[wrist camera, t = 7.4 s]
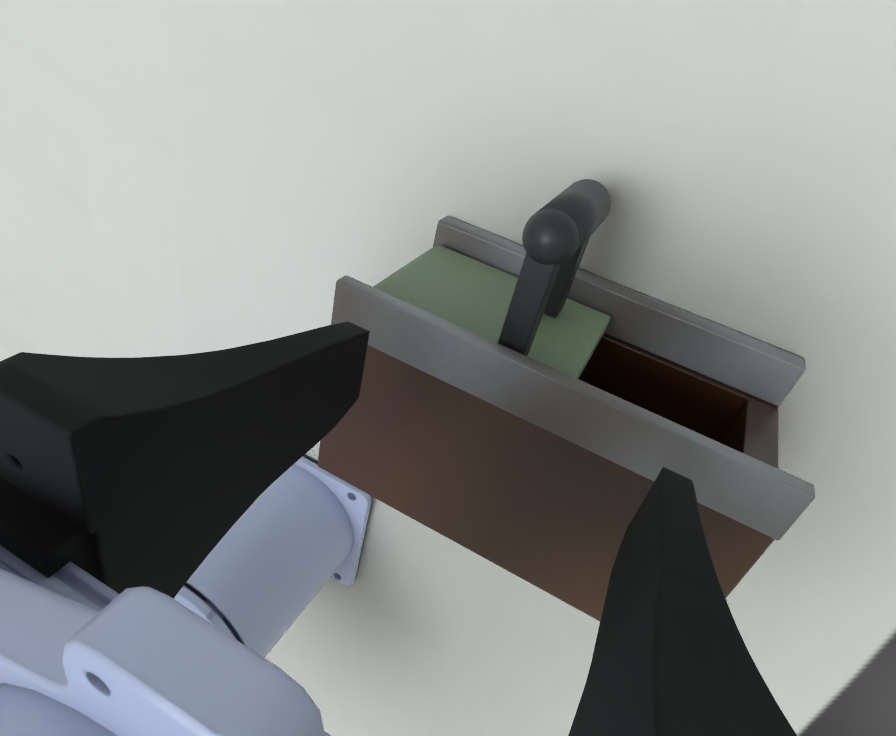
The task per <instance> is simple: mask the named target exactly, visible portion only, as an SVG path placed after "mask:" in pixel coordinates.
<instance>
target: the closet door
mask: <svg viewBox="0 0 896 736" xmlns="http://www.w3.org/2000/svg"><path fill="white" fill-rule="evenodd" d="M610 205H611V201H610V196H609V193H608V191H607V189H606V188H605V187H604V186H603V185H602V184H601V183H599V182H597V181H595V180H591V179H584V180H580V181H577V182H575V183H573V184H572V185H571V186H569V187H568V188H567V189H566V190H564V191H563V192H562V193H560V194H559V195H558V196H557V197H555V198H554V199H553V200H552V201H550V202H549V203H548V204H547V205H545V206H544V207H543V208H542V209H540V210H539V211H538V212H536V213H535V214H534V215H533V216H532V217H531V218H530V219H529V220H528V222H527V223H526V225H525V228H524V231H523V246H524V249H525V251H526V255H525V258H524V261H523V265H522V268H521V271H520V274H519V277H515V276H513V275H510V274H508V273H506V272H503V271H501V270H498V269H496V268H493V267H491V266H489V265H486V264H484V263H481V262H479V261H477V260H474V259H472V258H469V257H467V256H465V255H462V254H460V253H457V252H455V251H452V250H450V249H448V248H445V247H443V246H440V245H436V246H434V247H433V248H431V249H430V250H428V251H427V252H425V253H424V254H422V255H421V256H419V257H418V258H416V259H415V260H413V261H412V262H410V263H409V264H407V265H405V266H404V267H402V268H401V269H399V270H398V271H396V272H395V273H393V274H392V275H390V276H389V277H387V278H386V279H384V280H383V281H381V282H380V283H378V284H377V285H375V286H373V288H376V289H378V290H380V291H382V292H385V293H387V294H389V295H391V296H394V297H396V298H398V299H400V300H402V301H405V302H407V303H409V304H411V305H414V306H416V307H418V308H420V309H423V310H425V311H427V312H429V313H431V314H434V315H436V316H438V317H440V318H443V319H445V320H447V321H449V322H452V323H454V324H456V325H458V326H460V327H463V328H465V329H467V330H469V331H472V332H474V333H476V334H478V335H481V336H483V337H485V338H487V339H489V340H492V341H494V342H496V343H498V344H501V345H503V346H505V347H507V348H510V349H512V350H514V351H516V352H518V353H521V354H523V355H525V356H527V357H530V358H532V359H534V360H536V361H539V362H541V363H543V364H545V365H547V366H550V367H552V368H554V369H556V370H559V371H561V372H563V373H565V374H568V375H570V376H572V377H574V378H576V379H579V377H580V375H581V374H582V372H583V370H584V368H585V366H586V365H587V363H588V361H589V359H590V358H591V356H592V354H593V352H594V350H595V349H596V347H597V345H598V343H599V341H600V340H601V338H602V336H603V334H604V333H605V331H606V329H607V327H608V324H609V322H610V320H611V316H609V315H607V314H604V313H602V312H599V311H597V310H595V309H592V308H590V307H587V306H585V305H583V304H580V303H578V302H575V301H573V300H571V299H568V298H567V296H568V293H569V291H570V288H571V285H572V283H573V280H574V277H575V275H576V272H577V269H578V267H579V264H580V262H581V259H582V256H583V254H584V251H585V248H586V246H587V243H588V240H589V238H590V236H591V234H592V233H593V232H594V231H595V230H596V229H597V228H598V226H599V225H600V224H601V223H602V222H603V221H604V219H605V218H606V217H607V215H608V213H609V210H610Z"/></svg>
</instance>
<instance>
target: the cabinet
mask: <svg viewBox="0 0 896 736" xmlns="http://www.w3.org/2000/svg"><path fill="white" fill-rule="evenodd" d="M436 245H440V246H443V247H445V248H448V249H450V250H452V251H455V252H457V253H460V254H462V255H465V256H467V257H469V258H472V259H474V260H477V261H479V262H481V263H484V264H486V265H489V266H491V267H493V268H496V269H498V270H501V271H503V272H506V273H508V274H510V275H513V276H515V277H519V274H520V271H521V268H522V265H523V261H524V258H525V255H526V251H525V249H524V246H522V245H519V244H517V243H514V242H512V241H509V240H507V239H504V238H502V237H499V236H497V235H494V234H492V233H489V232H487V231H484V230H482V229H479V228H477V227H474V226H472V225H469V224H467V223H464V222H462V221H459V220H457V219H454V218H452V217H449V216H446V217H445V218H443V219H441V220H439V222H438V226H437V230H436V235H435V240H434V244H433V247H434V246H436ZM567 298H568V299H571V300H573V301H575V302H578V303H580V304H583V305H585V306H587V307H590V308H592V309H595V310H597V311H599V312H602V313H604V314H607V315H609V316H611V320H610V322H609V324H608V327H607V329H606V331H605V333H604V334H603V336H602V338H601V340H600V341H599V343H598V345H597V347H596V349H595V350H594V352H593V354H592V356H591V358H590V359H589V361H588V363H587V365H586V366H585V368H584V370H583V372H582V374H581V375H580V377H579V379H576V378H574V377H572V376H570V375H568V374H565V373H563V372H561V371H559V370H556V369H554V368H552V367H550V366H547V365H545V364H543V363H541V362H539V361H536V360H534V359H532V358H530V357H527V356H525V355H523V354H521V353H518V352H516V351H514V350H512V349H510V348H507V347H505V346H503V345H501V344H498V343H496V342H494V341H492V340H489V339H487V338H485V337H483V336H481V335H478V334H476V333H474V332H472V331H469V330H467V329H465V328H463V327H460V326H458V325H456V324H454V323H452V322H449V321H447V320H445V319H443V318H440V317H438V316H436V315H434V314H431V313H429V312H427V311H425V310H423V309H420V308H418V307H416V306H414V305H411V304H409V303H407V302H405V301H402V300H400V299H398V298H396V297H394V296H391V295H389V294H387V293H385V292H382V291H380V290H378V289H376V288H373V287H371V286H369V285H367V284H365V283H362V282H360V281H358V280H356V279H353V278H351V277H349V276H344V277H342V278H340V279H338V280H337V282H336V289H335V297H334V305H333V313H332V322H331V325H333V324H337V323H342V322H348V321H349V322H351V323H353V324H355V325H357V326H359V327H362V328H364V329H366V330H368V331H370V333H369V339H368V345H367V351H366V357H365V364H364V370H363V376H362V382H361V388H360V394H359V398H358V400H357V401H356V402H355V403H354V405H353V406H352V407H351V408H350V410H349V411H348V412H347V413H346V414H345V416H344V417H343V418H342V419H341V420H340V421H339V423H338V424H337V425H336V426H335V427H334V428H333V429H332V430H331V431H330V432H329V433H328V434H327V435H326V436H324V437H323V438H322V439H321V440H320V448H319V456H318V464H317V465H318V467H319V468H321V469H323V470H325V471H327V472H329V473H330V474H332V475H334V476H336V477H338V478H339V479H341V480H343V481H345V482H347V483H349V484H350V485H352V486H354V487H356V488H358V489H360V490H361V491H363V492H365V493H367V494H369V495H370V496H372V497H374V498H376V499H378V500H380V501H381V502H383V503H385V504H387V505H389V506H391V507H392V508H394V509H396V510H398V511H400V512H401V513H403V514H405V515H407V516H409V517H411V518H412V519H414V520H416V521H418V522H420V523H422V524H423V525H425V526H427V527H429V528H431V529H433V530H434V531H436V532H438V533H440V534H442V535H443V536H445V537H447V538H449V539H451V540H453V541H454V542H456V543H458V544H460V545H462V546H464V547H465V548H467V549H469V550H471V551H473V552H474V553H476V554H478V555H480V556H482V557H484V558H485V559H487V560H489V561H491V562H493V563H495V564H496V565H498V566H500V567H502V568H504V569H505V570H507V571H509V572H511V573H513V574H515V575H516V576H518V577H520V578H522V579H524V580H526V581H527V582H529V583H531V584H533V585H535V586H536V587H538V588H540V589H542V590H544V591H546V592H547V593H549V594H551V595H553V596H555V597H557V598H558V599H560V600H562V601H564V602H566V603H567V604H569V605H571V606H573V607H575V608H577V609H578V610H580V611H582V612H584V613H586V614H588V615H589V616H591V617H593V618H595V619H597V620H598V621H601V616H602V612H603V607H604V602H605V598H606V593H607V589H608V584H609V580H610V576H611V571H612V568H613V565H614V562H615V559H616V556H617V554H618V551H619V548H620V545H621V543H622V540H623V537H624V534H625V532H626V529H627V528H628V526H629V524H630V523H631V521H632V519H633V517H634V516H635V514H636V512H637V511H638V509H639V507H640V505H641V504H642V502H643V500H644V499H645V497H646V495H647V493H648V492H649V490H650V488H651V487H652V485H653V483H654V481H655V480H656V478H657V476H658V475H659V473H660V471H661V469H662V468H663V467H665V468H667V469H669V470H671V471H673V472H676V473H678V474H680V475H682V476H684V477H686V478H689V479H691V480H692V482H693V484H694V487H695V492H696V498H697V503H698V507H699V512H700V516H701V520H702V525H703V529H704V533H705V536H706V540H707V544H708V547H709V551H710V554H711V557H712V561H713V564H714V567H715V570H716V573H717V576H718V579H719V582H720V585H721V588H722V591H723V593H724V596H725V598H726V597H727V596H728V595H729V594H730V592H731V591H732V590H733V589H734V588H735V586H736V585H737V584H738V583H739V582H740V580H741V579H742V578H743V577H744V576H745V574H746V573H747V572H748V571H749V570H750V568H751V567H752V566H753V565H754V564H755V562H756V561H757V560H758V559H759V558H760V556H761V555H762V554H763V553H764V551H765V550H766V549H767V548H768V547H769V545H770V544H771V543H772V542H773V541H774V539H776V540H780V539H781V537H782V536H783V535H784V534H785V533H786V531H787V530H788V529H789V528H790V527H791V526H792V524H793V523H794V522H795V521H796V520H797V518H798V517H799V516H800V515H801V514H802V512H803V511H804V510H805V509H806V508H807V506H808V505H809V504H810V503H811V502H812V500H813V499H814V498H815V491H814V485H813V484H811V483H808V482H806V481H804V480H802V479H800V478H797V477H795V476H793V475H791V474H788V473H786V472H784V471H782V470H779V469H778V406H780V405H781V403H782V402H783V401H784V399H785V398H786V396H787V395H788V393H789V392H790V391H791V389H792V388H793V386H794V385H795V383H796V382H797V381H798V379H799V378H800V376H801V375H802V373H803V372H804V371H805V361H804V359H803V358H802V357H799V356H797V355H794V354H792V353H789V352H787V351H784V350H782V349H779V348H777V347H774V346H772V345H769V344H767V343H764V342H762V341H759V340H757V339H754V338H752V337H749V336H747V335H744V334H742V333H739V332H737V331H734V330H732V329H729V328H727V327H724V326H722V325H719V324H717V323H714V322H712V321H709V320H707V319H704V318H702V317H699V316H697V315H694V314H692V313H689V312H687V311H684V310H682V309H679V308H677V307H674V306H672V305H669V304H667V303H664V302H662V301H659V300H657V299H654V298H652V297H649V296H647V295H644V294H642V293H639V292H637V291H634V290H632V289H629V288H627V287H624V286H622V285H619V284H617V283H614V282H612V281H609V280H607V279H604V278H602V277H599V276H597V275H594V274H592V273H589V272H587V271H584V270H582V269H579V268H578V269H577V272H576V275H575V277H574V280H573V283H572V285H571V288H570V291H569V293H568V296H567Z"/></svg>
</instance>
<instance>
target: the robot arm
mask: <svg viewBox="0 0 896 736" xmlns="http://www.w3.org/2000/svg"><path fill="white" fill-rule="evenodd" d="M369 333H370V331H368V330H366V329H364V328H362V327H359V326H357V325H355V324H353V323H351V322H349V321H348V322H342V323H337V324H333V325H329V326H325V327H321V328H317V329H313V330H309V331H306V332H302V333H298V334H294V335H290V336H286V337H282V338H278V339H274V340H270V341H265V342H260V343H255V344H250V345H245V346H241V347H236V348H231V349H225V350H219V351H212V352H205V353H196V354H188V355H177V356H160V357H142V358H93V357H71V356H59V355H46V354H34V353H24V352H21V353H18V354H16V355H14V356H12V357H9V358H7V359H5V360H3V361H0V736H331V735H329V734H328V733H326V732H325V731H324V727H323V723H322V718H321V713H320V710H319V709H318V707H317V706H316V704H315V703H314V702H313V700H312V699H311V697H310V696H309V695H308V693H307V692H306V691H305V689H304V688H303V687H302V686H301V685H299V684H298V683H297V682H296V681H295V680H293V679H292V678H291V677H290V676H289V675H287V674H286V673H285V672H284V671H283V670H281V669H280V668H279V667H277V666H276V665H274V664H273V663H271V662H270V661H268V660H266V659H265V657H266V656H267V654H268V653H269V652H270V651H271V649H272V648H273V647H274V646H275V644H276V643H277V642H278V641H279V639H280V638H281V637H282V636H283V635H284V633H285V632H286V631H287V630H288V628H289V627H290V626H291V625H292V623H293V622H294V621H295V620H296V618H297V617H298V616H299V615H300V613H301V612H302V611H303V610H304V609H305V607H306V606H307V605H308V604H309V602H310V601H311V600H312V599H313V597H314V596H315V595H316V594H317V592H318V591H319V590H320V589H321V587H322V586H323V585H324V584H325V583H326V581H327V580H328V579H329V578H330V577H331V578H333V579H334V580H336V581H338V582H339V583H341V584H343V585H344V586H351V585H352V584H353V583H354V581H355V577H356V573H357V568H358V563H359V558H360V554H361V549H362V544H363V539H364V535H365V530H366V525H367V520H368V516H369V511H370V506H371V496H370V495H369V494H367V493H365V492H363V491H361V490H360V489H358V488H356V487H354V486H352V485H350V484H349V483H347V482H345V481H343V480H341V479H339V478H338V477H336V476H334V475H332V474H330V473H329V472H327V471H325V470H323V469H321V468H319V467H318V465H317V464H316V463H314V462H312V461H310V460H308V459H307V458H305V457H303V455H305V454H306V453H307V452H308V451H309V450H310V449H311V448H312V447H314V446H315V445H316V444H317V443H318V442H319V441H320V440H321V439H322V438H323V437H324V436H326V435H327V434H328V433H329V432H330V431H331V430H332V429H333V428H334V427H335V426H336V425H337V424H338V423H339V421H340V420H341V419H342V418H343V417H344V416H345V414H346V413H347V412H348V411H349V410H350V408H351V407H352V406H353V405H354V403H355V402H356V401H357V400H358V398H359V394H360V388H361V382H362V376H363V370H364V364H365V357H366V351H367V345H368V339H369ZM568 736H797V735H796V733H795V732H794V730H793V729H792V727H791V726H790V724H789V722H788V721H787V719H786V718H785V716H784V714H783V713H782V711H781V709H780V708H779V706H778V705H777V703H776V701H775V699H774V698H773V696H772V694H771V692H770V691H769V689H768V687H767V685H766V683H765V682H764V680H763V678H762V676H761V675H760V673H759V671H758V669H757V667H756V665H755V663H754V662H753V660H752V658H751V656H750V654H749V652H748V650H747V648H746V646H745V643H744V641H743V639H742V637H741V635H740V633H739V631H738V628H737V626H736V624H735V621H734V619H733V617H732V614H731V612H730V609H729V607H728V604H727V602H726V599H725V596H724V593H723V591H722V588H721V585H720V582H719V579H718V576H717V573H716V570H715V567H714V564H713V561H712V557H711V554H710V551H709V547H708V544H707V540H706V536H705V533H704V529H703V525H702V520H701V516H700V512H699V507H698V503H697V498H696V492H695V487H694V484H693V482H692V480H691V479H689V478H686V477H684V476H682V475H680V474H678V473H676V472H673V471H671V470H669V469H667V468H665V467H663V468H662V469H661V471H660V473H659V475H658V476H657V478H656V480H655V481H654V483H653V485H652V487H651V488H650V490H649V492H648V493H647V495H646V497H645V499H644V500H643V502H642V504H641V505H640V507H639V509H638V511H637V512H636V514H635V516H634V517H633V519H632V521H631V523H630V524H629V526H628V528H627V529H626V532H625V534H624V537H623V540H622V543H621V545H620V548H619V551H618V554H617V556H616V559H615V562H614V565H613V568H612V571H611V576H610V580H609V584H608V589H607V593H606V598H605V602H604V607H603V612H602V616H601V621H600V626H599V630H598V635H597V639H596V644H595V649H594V653H593V658H592V662H591V666H590V670H589V674H588V677H587V681H586V685H585V688H584V691H583V694H582V697H581V700H580V703H579V706H578V709H577V712H576V715H575V718H574V721H573V724H572V727H571V730H570V733H569V735H568Z"/></svg>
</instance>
